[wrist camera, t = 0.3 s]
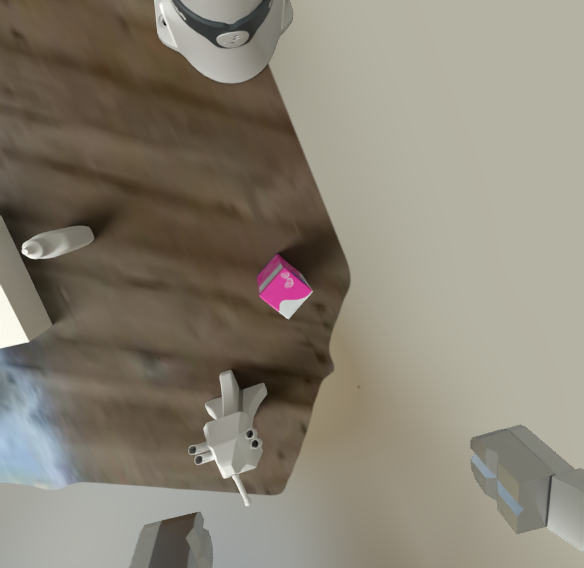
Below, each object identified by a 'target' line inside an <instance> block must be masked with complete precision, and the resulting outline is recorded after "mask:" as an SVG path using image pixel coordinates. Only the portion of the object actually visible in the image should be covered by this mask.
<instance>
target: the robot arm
mask: <svg viewBox="0 0 584 568" xmlns="http://www.w3.org/2000/svg"><path fill="white" fill-rule="evenodd" d="M154 4H155V14H156V24H157V32H158V35H159V38H160V40H161V41H162V42H163V43H164V44H165V45H166V46H168V47H170V48H172V49H174V50H176V51H178V52H180V53H181V54H182V55H183V56H184V57H185V58H186V59H187V60H188V61H189V62H190V63H191V64H192V65H193V66H194V67H195V68H196V69H197V70H198V71H199V72H201V73H202V74H204V75H205V76H207V77H209V78H211V79H213V80H216V81H219V82H223V83H239V82H243V81H246V80H249V79H251V78H253V77H254V76H256V75H257V74H259V73H260V72H261V71H262V70H263V69H264V68H265V67H266V65H267V64H268V62H269V61H270V59H271V57H272V55H273V53H274V50H275V47H276V44H277V42H278V39H279V37H280V36H281V35H282V34H283V33H284V31H285V30H286V29H287V28H288V27H289V25H290V24H291V22H292V19H293V9H292V6H291V3H290V0H154ZM164 21H165V23H166V25H167V26H165V25H163V23H164ZM470 445H471V449H472V450H473V451H474V452H475V453H474V455H473V456H472V458H471V469H472V472H473V474H474V477H475V479H476V481H477V483H478V484H479V486H480V487H481V489H482V490H483V491H484V493H485V494H486V495H488V496H490V497H491V498H493V499H495V500H497V509H498V511H499V512H500V514H501V515H502V516H503V517H504V519H505V520H506V521H507V522H508V524H509V525H510V526H511V528H512V529H513V530H514V531H515V533H516V534H520V533H524V532H527V531H531V530H535V529H539V528H543V527H547V529H549V530H550V531H552V532H553V533H555V534H556V535H558V536H559V537H561V538H563V539H564V540H566V541H567V542H569V543H570V544H572V545H573V546H575V547H576V548H578V549H579V550H581V551H582V552H584V470H583V469H581V468H580V469H574V468H573V467H572V466H571V465H569V464H568V463H567V462H566V461H565V460H564V459H562V458H561V457H560V456H559V455H558V454H557V453H556V452H554V451H553V450H552V449H551V448H550V447H548V446H547V445H546V444H545V443H544V442H543V441H542V440H540V439H539V438H538V437H537V436H536V435H535V434H533V433H532V432H531V431H530V430H529V429H527V428H526V427H525V426H522V425H517V426H513V427H510V428H506V429H501V430H497V431H494V432H490V433H487V434H483V435H480V436H476V437H473V438H472V439H471V444H470ZM203 523H204V519H203V516H202V514H201V512H196V513H192V514H187V515H183V516H179V517H175V518H170V519H167V520H162V521H159V522H155V523H151V524H147V525H144V527H143V529H142V530H141V532H140V534H139V537H138V541H137V544H136V547H135V550H134V553H133V556H132V559H131V563H130V566H129V568H212V565H213V548H212V541H211V536H210V534H209V531H208V530H206V529H204V528H203Z"/></svg>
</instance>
